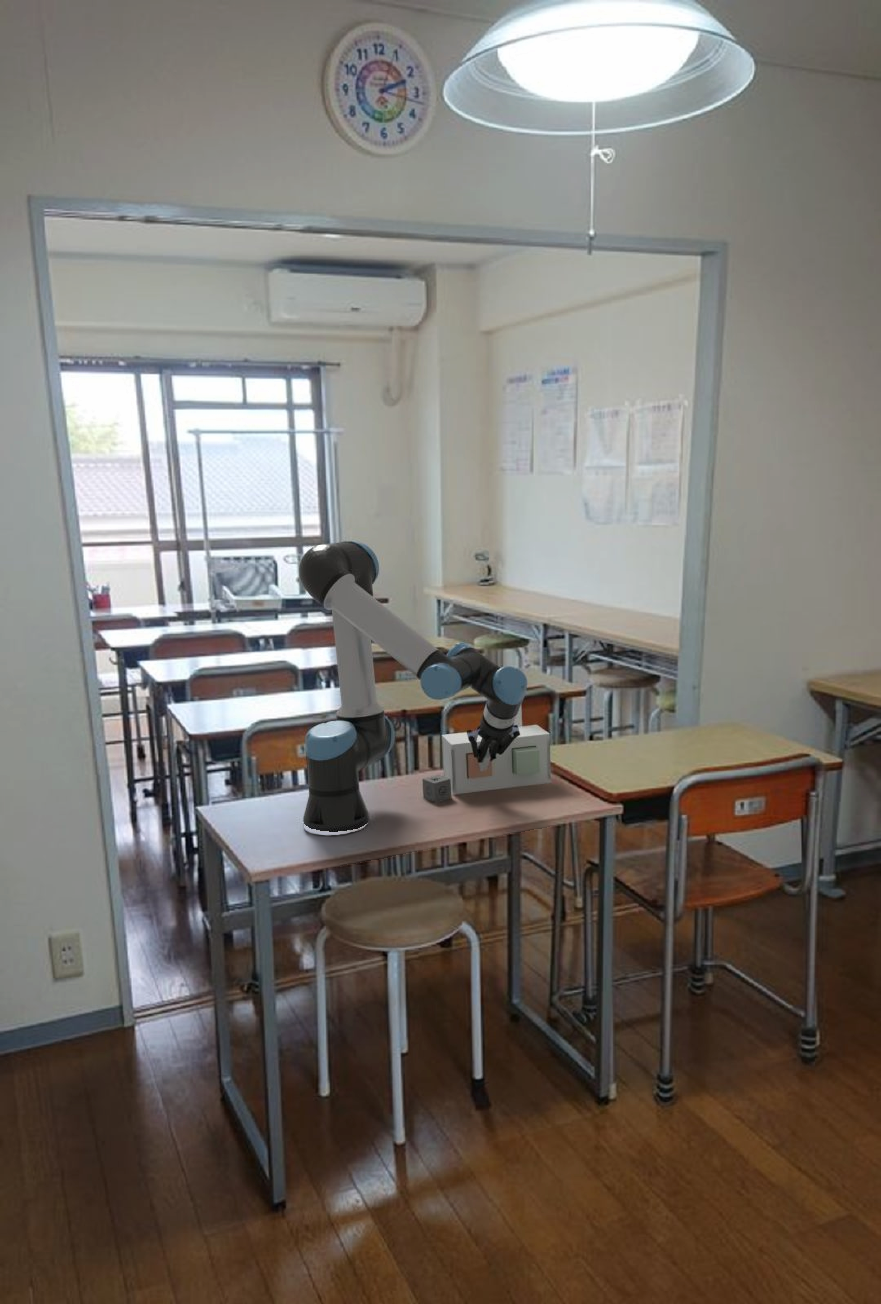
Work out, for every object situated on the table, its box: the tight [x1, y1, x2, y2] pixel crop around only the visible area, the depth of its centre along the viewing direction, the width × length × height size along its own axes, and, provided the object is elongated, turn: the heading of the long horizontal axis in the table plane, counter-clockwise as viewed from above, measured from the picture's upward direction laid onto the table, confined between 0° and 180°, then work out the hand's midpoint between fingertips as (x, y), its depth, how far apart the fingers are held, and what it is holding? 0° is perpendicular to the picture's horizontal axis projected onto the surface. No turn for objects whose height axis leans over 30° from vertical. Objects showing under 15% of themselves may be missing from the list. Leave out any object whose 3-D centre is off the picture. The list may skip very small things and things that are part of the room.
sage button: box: [512, 746, 540, 775], centre depth 234 cm, size 6×7×6 cm
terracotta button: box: [466, 753, 492, 778], centre depth 233 cm, size 6×7×6 cm
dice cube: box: [422, 774, 452, 803], centre depth 228 cm, size 5×5×5 cm
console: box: [441, 724, 552, 795], centre depth 237 cm, size 26×10×13 cm, turn 104°
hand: (482, 766), depth 228 cm, fingers closed
